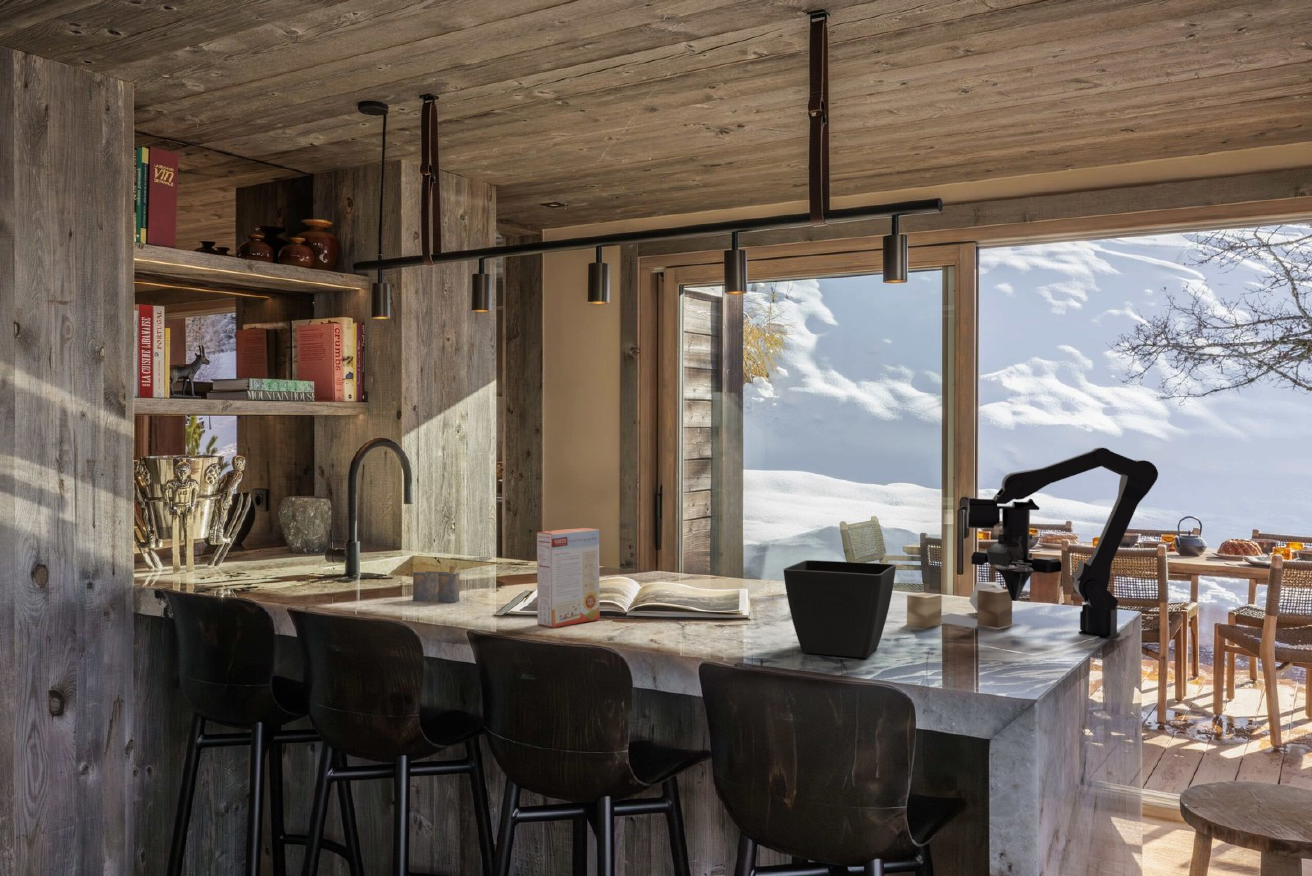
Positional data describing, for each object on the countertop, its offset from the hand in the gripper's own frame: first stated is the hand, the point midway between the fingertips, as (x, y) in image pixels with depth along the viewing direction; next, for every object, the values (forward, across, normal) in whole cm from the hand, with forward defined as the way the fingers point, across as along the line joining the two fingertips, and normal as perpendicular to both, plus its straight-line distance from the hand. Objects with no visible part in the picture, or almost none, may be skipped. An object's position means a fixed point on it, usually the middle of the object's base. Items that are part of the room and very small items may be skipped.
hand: (1014, 600), depth 221 cm
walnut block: (+6, -5, 0) cm, 8 cm away
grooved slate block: (+8, -113, -79) cm, 138 cm away
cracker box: (+7, -69, -70) cm, 99 cm away
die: (+7, -14, +13) cm, 20 cm away
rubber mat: (+7, -11, 0) cm, 13 cm away
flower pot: (+7, -12, -46) cm, 48 cm away
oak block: (+7, -16, -11) cm, 20 cm away
